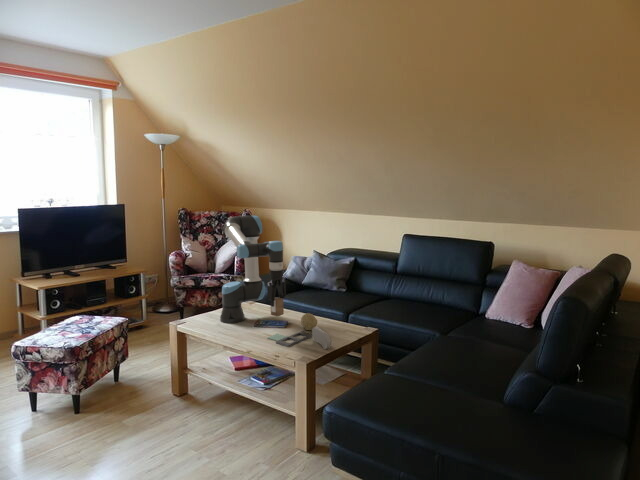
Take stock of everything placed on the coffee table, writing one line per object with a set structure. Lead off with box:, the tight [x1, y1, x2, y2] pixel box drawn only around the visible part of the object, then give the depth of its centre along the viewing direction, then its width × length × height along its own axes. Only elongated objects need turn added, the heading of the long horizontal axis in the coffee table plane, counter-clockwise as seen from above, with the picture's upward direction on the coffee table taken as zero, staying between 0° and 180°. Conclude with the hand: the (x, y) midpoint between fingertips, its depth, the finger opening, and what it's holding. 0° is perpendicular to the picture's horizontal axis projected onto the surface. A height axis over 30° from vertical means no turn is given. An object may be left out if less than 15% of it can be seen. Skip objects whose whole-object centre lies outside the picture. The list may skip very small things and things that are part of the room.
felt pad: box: [266, 333, 289, 342], centre depth 269 cm, size 8×8×1 cm
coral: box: [300, 312, 318, 331], centre depth 284 cm, size 10×10×10 cm
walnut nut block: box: [270, 296, 285, 317], centre depth 267 cm, size 5×5×9 cm
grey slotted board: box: [275, 330, 313, 348], centre depth 267 cm, size 9×22×1 cm, turn 143°
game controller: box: [311, 326, 332, 350], centre depth 258 cm, size 20×2×8 cm, turn 25°
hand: (277, 310), depth 267 cm, fingers closed on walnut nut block, 5 cm apart
